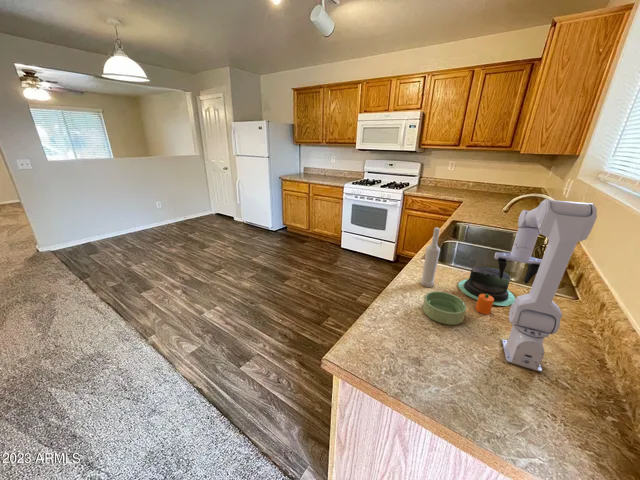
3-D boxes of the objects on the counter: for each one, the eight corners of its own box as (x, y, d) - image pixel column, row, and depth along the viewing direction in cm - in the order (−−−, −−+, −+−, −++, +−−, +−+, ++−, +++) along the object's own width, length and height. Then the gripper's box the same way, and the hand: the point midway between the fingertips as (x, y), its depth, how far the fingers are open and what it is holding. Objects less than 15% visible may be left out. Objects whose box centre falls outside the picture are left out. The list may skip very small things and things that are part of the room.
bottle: (420, 286, 110) (430, 229, 101) (420, 280, 115) (429, 225, 106) (433, 288, 109) (445, 231, 100) (432, 282, 113) (443, 227, 104)
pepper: (490, 315, 92) (495, 299, 90) (475, 311, 94) (480, 295, 92) (489, 308, 96) (494, 292, 94) (475, 305, 98) (479, 289, 96)
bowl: (463, 330, 85) (467, 318, 83) (420, 318, 90) (422, 306, 88) (463, 308, 96) (466, 297, 94) (424, 299, 101) (426, 288, 99)
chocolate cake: (507, 281, 113) (528, 309, 95) (461, 293, 120) (472, 321, 103) (496, 251, 110) (516, 275, 92) (450, 265, 117) (459, 290, 99)
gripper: (546, 245, 91) (534, 279, 96) (497, 238, 97) (488, 270, 102) (552, 252, 86) (539, 288, 90) (500, 244, 91) (490, 278, 96)
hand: (512, 279), depth 96 cm, fingers open, 7 cm apart
